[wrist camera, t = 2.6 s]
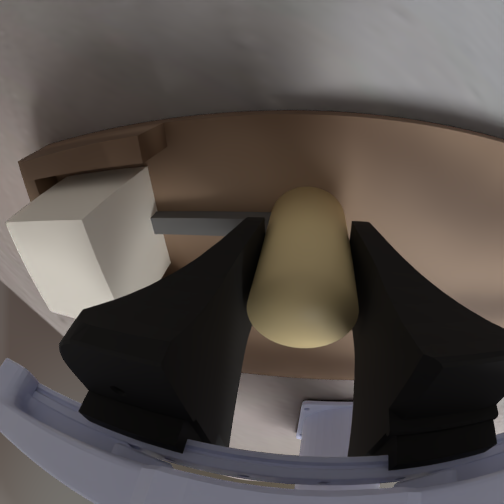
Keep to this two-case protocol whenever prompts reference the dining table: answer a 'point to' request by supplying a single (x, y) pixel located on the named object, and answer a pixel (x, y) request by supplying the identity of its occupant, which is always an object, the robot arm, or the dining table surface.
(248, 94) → the dining table surface
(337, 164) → the shelf
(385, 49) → the dining table surface
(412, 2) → the dining table surface
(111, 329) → the robot arm
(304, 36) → the dining table surface
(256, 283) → the tethered block
